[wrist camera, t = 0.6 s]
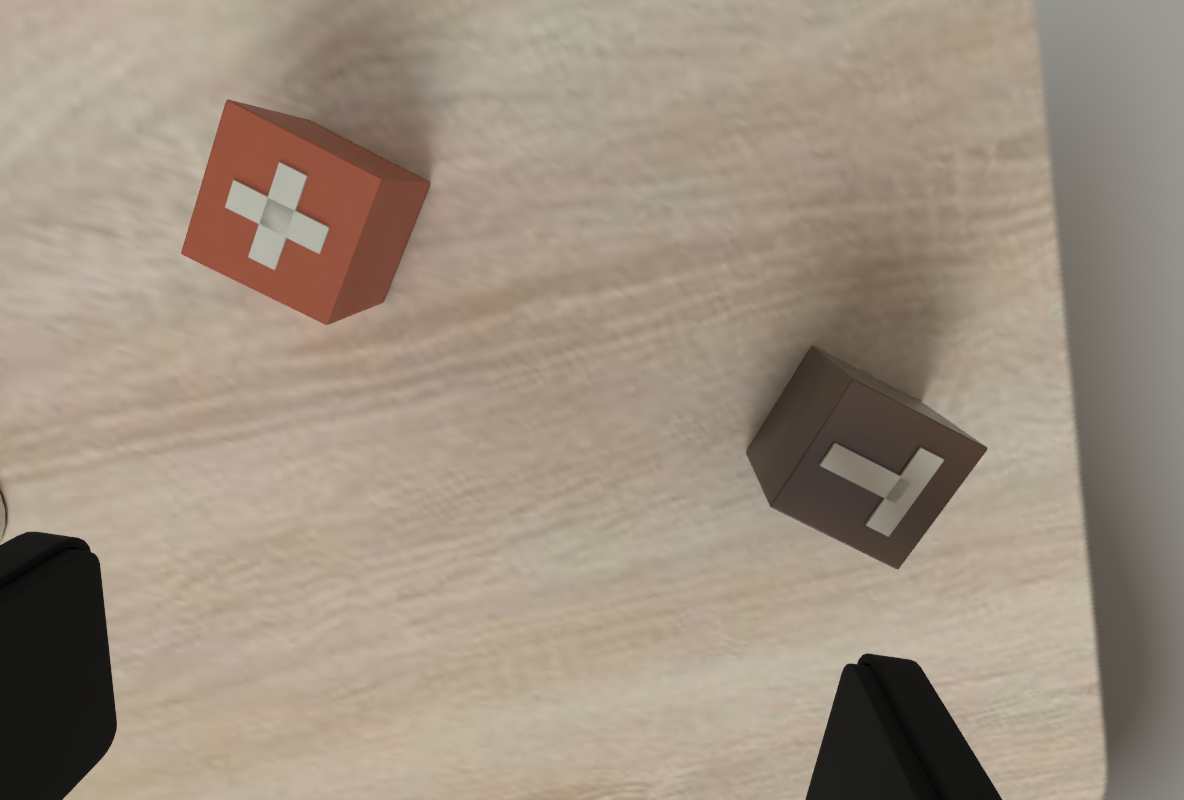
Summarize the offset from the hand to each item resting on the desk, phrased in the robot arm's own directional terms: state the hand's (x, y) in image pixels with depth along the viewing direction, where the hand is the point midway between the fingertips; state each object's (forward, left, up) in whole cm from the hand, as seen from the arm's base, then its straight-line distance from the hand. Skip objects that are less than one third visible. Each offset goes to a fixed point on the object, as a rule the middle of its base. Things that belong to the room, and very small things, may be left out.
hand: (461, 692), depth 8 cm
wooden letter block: (-2, +9, -16) cm, 19 cm away
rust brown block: (-1, -9, -16) cm, 19 cm away
